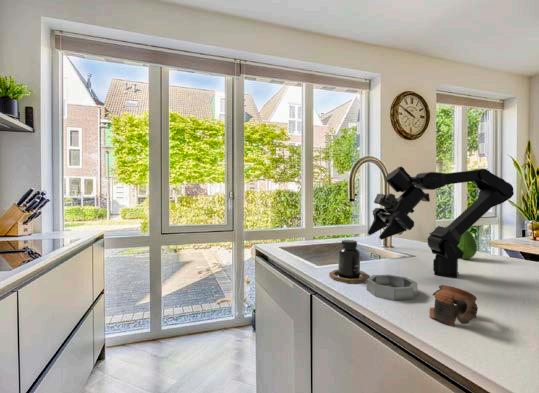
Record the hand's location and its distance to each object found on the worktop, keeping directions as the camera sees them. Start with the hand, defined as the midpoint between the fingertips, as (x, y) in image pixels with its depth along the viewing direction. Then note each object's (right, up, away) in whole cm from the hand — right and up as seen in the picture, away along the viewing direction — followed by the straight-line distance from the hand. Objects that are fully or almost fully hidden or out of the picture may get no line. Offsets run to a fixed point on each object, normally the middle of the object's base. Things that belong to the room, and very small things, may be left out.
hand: (374, 236), depth 99 cm
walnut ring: (-8, -13, 0) cm, 16 cm away
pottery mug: (+7, -15, -32) cm, 36 cm away
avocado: (+45, -13, +23) cm, 52 cm away
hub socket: (0, -14, -14) cm, 20 cm away
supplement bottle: (-8, -14, 0) cm, 16 cm away
